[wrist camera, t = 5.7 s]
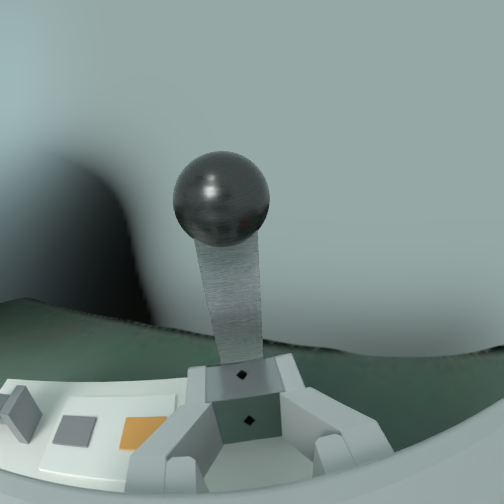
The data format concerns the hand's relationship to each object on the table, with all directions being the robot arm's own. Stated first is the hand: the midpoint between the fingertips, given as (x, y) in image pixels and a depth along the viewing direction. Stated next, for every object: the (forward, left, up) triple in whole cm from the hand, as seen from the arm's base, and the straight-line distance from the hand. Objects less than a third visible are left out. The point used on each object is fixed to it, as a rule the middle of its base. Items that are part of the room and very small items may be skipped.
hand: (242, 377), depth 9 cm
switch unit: (-9, -2, -11) cm, 14 cm away
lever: (-2, +3, -5) cm, 7 cm away
